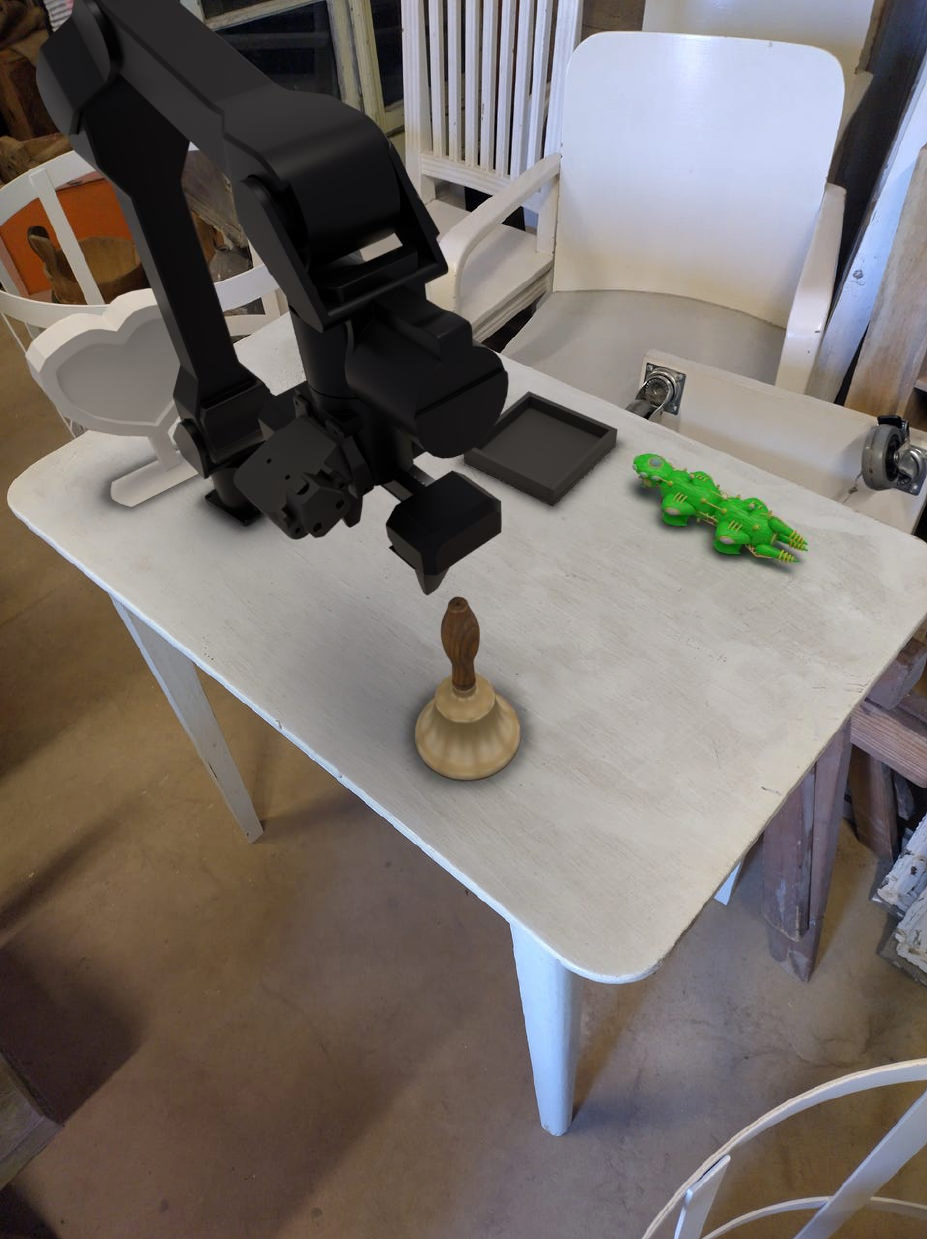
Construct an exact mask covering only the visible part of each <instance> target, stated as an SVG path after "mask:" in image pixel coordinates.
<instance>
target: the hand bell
mask: <svg viewBox="0 0 927 1239" xmlns="http://www.w3.org/2000/svg"><path fill="white" fill-rule="evenodd" d="M440 623H441V624H440V640H441V645H442V648H443V651H444V653H445V655H446V657H447V658H448V660H449V661H450V664H451V674H450V675H448V676H447V677H445V678H444V679H442V681H441V682H440V683H439V685H437V687H436V689H435V693H434V698H433V699H431V700H430V701H429V702H428V703H427V704H426V705H425V707H424V708H423V710H421V712H420V714H419V716H418V718H417V720H416V723H415V728H414V742H415V747H416V750H417V752H418V754H419V756H420V758H421V759H422V761H423V762H424V764H426V765H427V766H428V767H429V768H430V769H432V770H433V771H434V772H436V773H438V774H440V775H441V776H444V777H446V778H449V779H453V780H459V781H472V780H473V781H474V780H479V779H483V778H487V777H490V776H492V775H494V774H496V773H498V772H499V771H501V770H502V769H504V768H505V767H506V766H507V765H508V764H509V763H510V762H511V761H512V759H513V758H514V757H515V755H516V753H517V751H518V749H519V747H520V742H521V739H522V738H521V737H522V734H521V733H522V729H521V723H520V720H519V717H518V715H517V713H516V711H515V709H514V708H513V707H512V705H511V704H510V703H509V702H508V701H507V700H506V699H505V698H504V697H502V696H501V695H499V694H498V693H496V692H495V688H494V687H493V684H491V682H490V681H489V680H488V679H487V678H486V677H485V676H483V675H481V674H479V673H476V671H475V663H474V662H475V659H476V656H477V655H478V652H479V647H480V643H481V629H480V625H479V621H478V618H477V616H476V614H475V612H474V611H473V610H472V608H471V606H470V605H469V601H468V600H467V599H466V598H465V597H463V596H454V597H452V598H451V599H450V600H449V601H448V602H447V607H446V610H445V612H444V614H443V616H442V620H441V622H440Z"/></svg>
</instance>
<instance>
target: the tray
mask: <svg viewBox="0 0 927 1239" xmlns="http://www.w3.org/2000/svg"><path fill="white" fill-rule="evenodd" d="M618 431H619V430H618V428H616V427H613V426H612V425H608V424H606V423H605V422H602V421H599V420H597V419H595V418H592V417H590V416H587V415H586V414H583V413H581V412H578V411H576V410H574V409H572V408H569V407H567V406H564V405H562V404H559V403H558V402H555V401H552V400H550V399H548V398H545V397H543V396H542V395H539V394H537V393H533V392H532V391H527V392H526V393H524V395H522V396H521V397H519V399H517V400H516V401H515V402H514V403H513V404H511V405H510V406H509V407H508V408H507V409H506V410H504V411H502V412H501V414H500V417H499V419H498V421H497V422H496V424H495V425H494V427H493V428H492V430H491V431H490V432H489V434H488V435H487V436H486V437H485V438H484V439H483V440H482V441H481V442H480V443H479V444H478V445H476V446H475V447H474V448H473V449H472V450H470V451H468V452H467V453H465V454H463V455H462V456H463V463H464V464H467V465H469V466H471V467H472V468H475V469H477V470H479V471H481V472H483V473H485V474H487V475H489V476H491V477H493V478H495V479H497V480H499V481H501V482H503V483H505V484H507V485H509V486H511V487H513V488H516V489H517V490H520V491H522V492H524V493H526V494H527V495H530V496H532V497H533V498H536V499H537V500H540V501H541V502H544V503H546V504H547V505H550V506H552V507H553V506H555V505H556V504H557V503H558V502H559V501H560V500H561V499H562V498H563V497H564V496H565V495H566V494H568V492H569V491H570V490H571V489H573V487H574V486H575V485H577V484H578V483H579V482H580V481H581V480H582V479H583V478H584V477H585V476H586V475H587V474H588V473H589V472H590V471H591V470H592V469H593V468H594V467H595V466H597V464H598V463H599V462H600V461H601V460H602V459H603V458H605V456H606V455H608V454H609V453H610V452H611V450H613V449H614V448H615V447H616V446H617V438H618Z"/></svg>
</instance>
